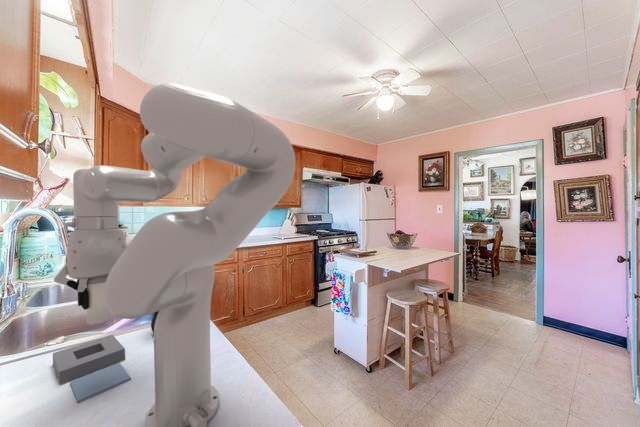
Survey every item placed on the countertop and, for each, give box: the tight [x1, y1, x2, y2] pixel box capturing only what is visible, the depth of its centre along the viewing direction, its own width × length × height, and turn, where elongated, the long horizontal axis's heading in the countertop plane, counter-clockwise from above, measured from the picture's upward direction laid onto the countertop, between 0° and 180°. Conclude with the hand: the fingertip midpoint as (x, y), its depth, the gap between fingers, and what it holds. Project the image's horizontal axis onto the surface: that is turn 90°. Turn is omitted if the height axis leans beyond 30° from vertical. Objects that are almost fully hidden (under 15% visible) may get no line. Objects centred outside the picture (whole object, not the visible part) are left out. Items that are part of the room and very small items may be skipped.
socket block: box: [52, 334, 126, 386], centre depth 65 cm, size 12×12×3 cm
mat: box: [69, 362, 132, 404], centre depth 58 cm, size 9×9×1 cm
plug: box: [86, 275, 111, 325], centre depth 57 cm, size 4×4×10 cm
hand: (98, 303), depth 57 cm, fingers closed on plug, 4 cm apart
